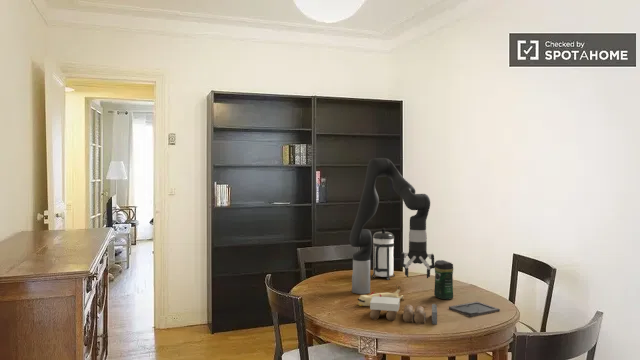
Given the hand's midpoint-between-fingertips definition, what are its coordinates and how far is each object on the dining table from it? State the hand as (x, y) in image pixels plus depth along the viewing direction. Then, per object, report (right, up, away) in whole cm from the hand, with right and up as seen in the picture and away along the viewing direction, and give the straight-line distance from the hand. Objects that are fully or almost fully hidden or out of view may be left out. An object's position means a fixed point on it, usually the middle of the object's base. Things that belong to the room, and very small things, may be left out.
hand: (417, 277), depth 193 cm
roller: (+1, -18, 0) cm, 18 cm away
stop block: (+7, -18, -2) cm, 19 cm away
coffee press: (-4, -17, +75) cm, 77 cm away
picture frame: (+29, -18, +12) cm, 36 cm away
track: (-8, -18, +2) cm, 20 cm away
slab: (-13, -14, +3) cm, 20 cm away
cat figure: (-13, -18, +23) cm, 32 cm away
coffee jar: (+21, -18, +33) cm, 43 cm away
